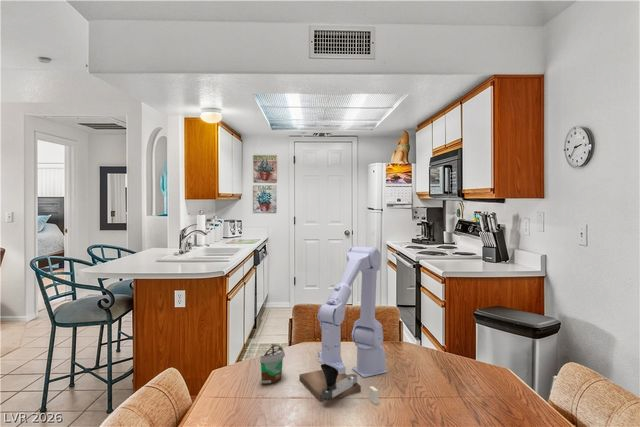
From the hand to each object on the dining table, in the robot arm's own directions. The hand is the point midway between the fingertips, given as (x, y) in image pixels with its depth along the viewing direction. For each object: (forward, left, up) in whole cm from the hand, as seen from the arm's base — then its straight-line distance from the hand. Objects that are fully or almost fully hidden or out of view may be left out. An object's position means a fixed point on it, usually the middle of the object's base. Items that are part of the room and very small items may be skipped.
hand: (331, 388), depth 125 cm
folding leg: (-2, +1, -1) cm, 3 cm away
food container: (+11, -19, -3) cm, 22 cm away
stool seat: (-3, -7, -3) cm, 8 cm away
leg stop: (-10, +8, -3) cm, 13 cm away
